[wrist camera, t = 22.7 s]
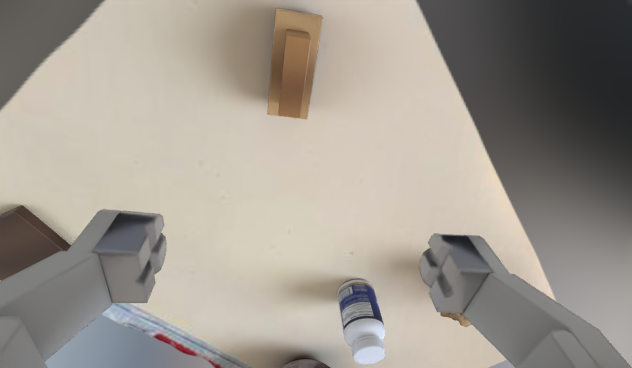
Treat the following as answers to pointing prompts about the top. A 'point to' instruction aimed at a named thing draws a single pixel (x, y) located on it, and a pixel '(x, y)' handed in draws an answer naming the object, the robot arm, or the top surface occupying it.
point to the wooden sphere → (305, 364)
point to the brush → (293, 62)
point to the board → (25, 241)
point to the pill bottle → (361, 321)
